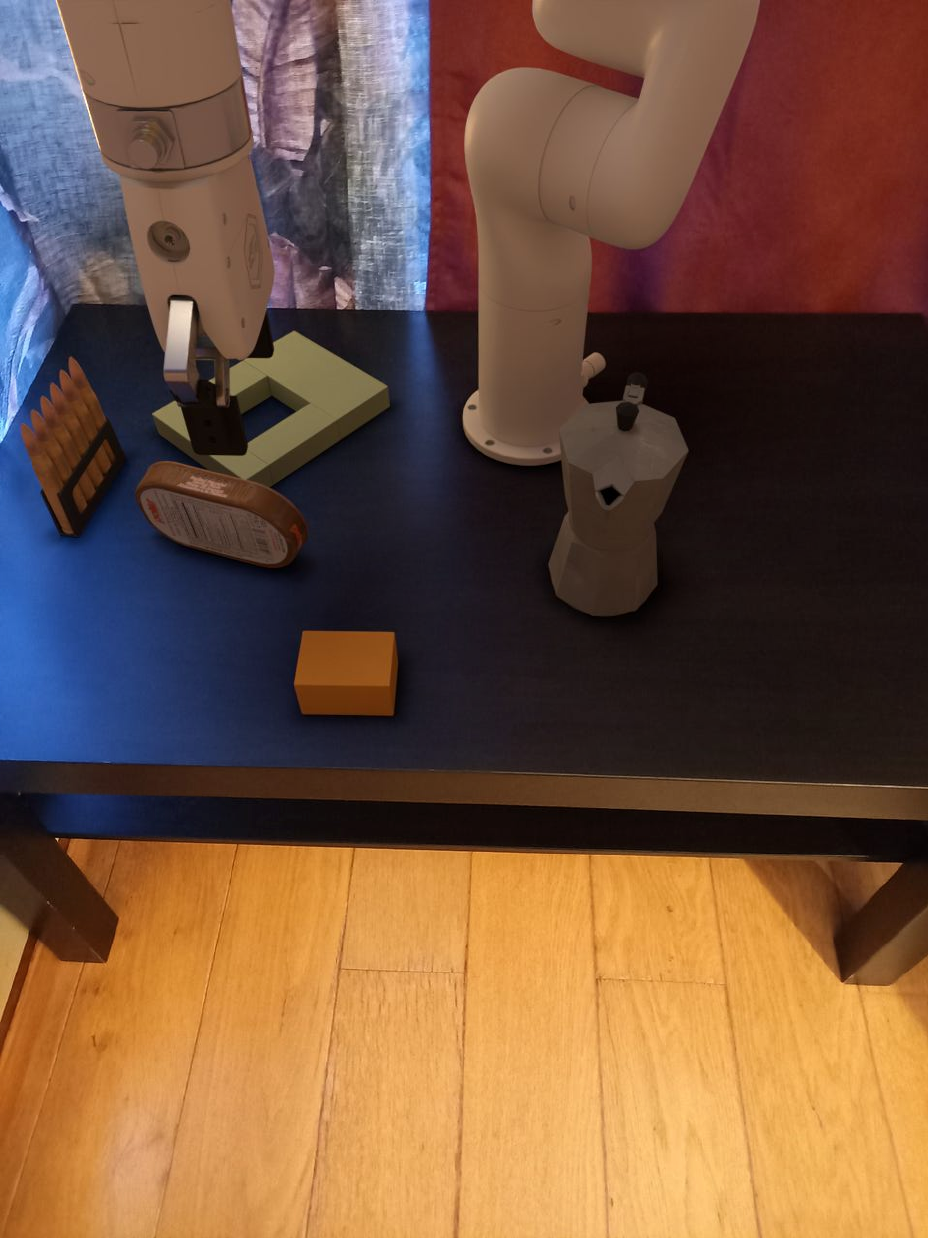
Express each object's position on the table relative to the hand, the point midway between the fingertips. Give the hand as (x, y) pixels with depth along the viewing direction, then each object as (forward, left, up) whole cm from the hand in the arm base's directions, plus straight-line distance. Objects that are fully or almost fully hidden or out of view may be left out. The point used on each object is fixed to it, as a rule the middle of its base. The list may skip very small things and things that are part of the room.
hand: (236, 401), depth 59 cm
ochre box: (+1, +8, -23) cm, 24 cm away
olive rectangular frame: (-16, -21, -23) cm, 34 cm away
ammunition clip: (+2, -25, -23) cm, 34 cm away
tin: (-2, -10, -23) cm, 25 cm away
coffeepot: (-22, +15, -23) cm, 35 cm away
